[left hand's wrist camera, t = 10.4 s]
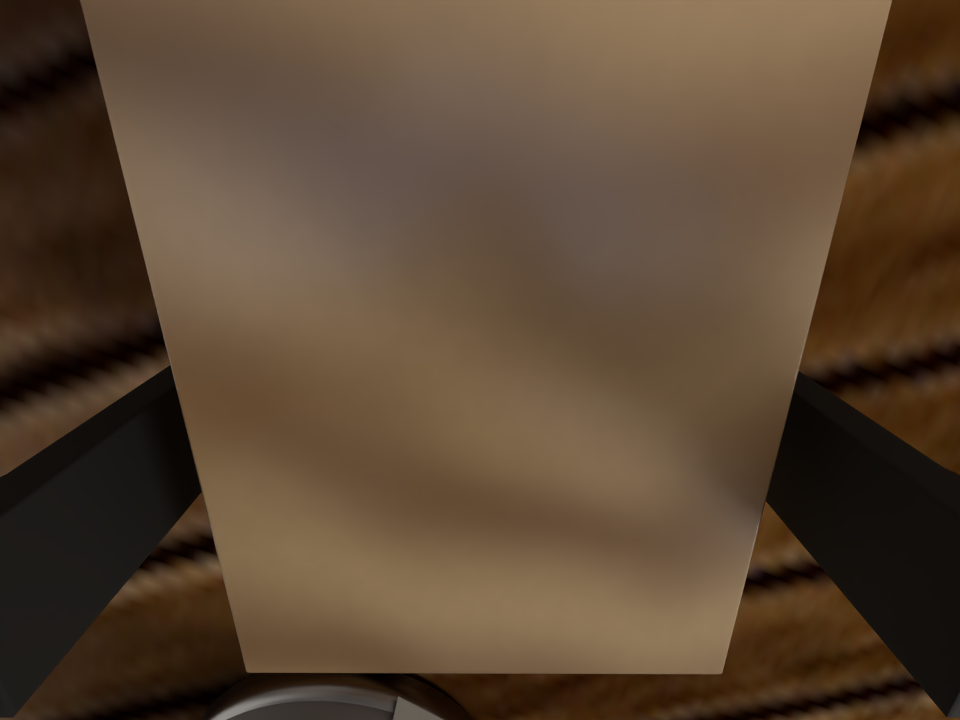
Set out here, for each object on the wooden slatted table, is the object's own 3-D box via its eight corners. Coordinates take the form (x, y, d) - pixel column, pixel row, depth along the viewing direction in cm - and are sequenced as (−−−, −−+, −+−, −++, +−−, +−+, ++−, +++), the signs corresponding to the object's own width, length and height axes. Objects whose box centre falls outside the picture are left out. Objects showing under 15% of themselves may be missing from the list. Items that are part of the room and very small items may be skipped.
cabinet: (263, -370, 12) (-429, -2027, 3) (704, -373, 11) (1419, -2069, 3) (352, 441, 19) (245, 674, 11) (614, 440, 19) (722, 675, 11)
